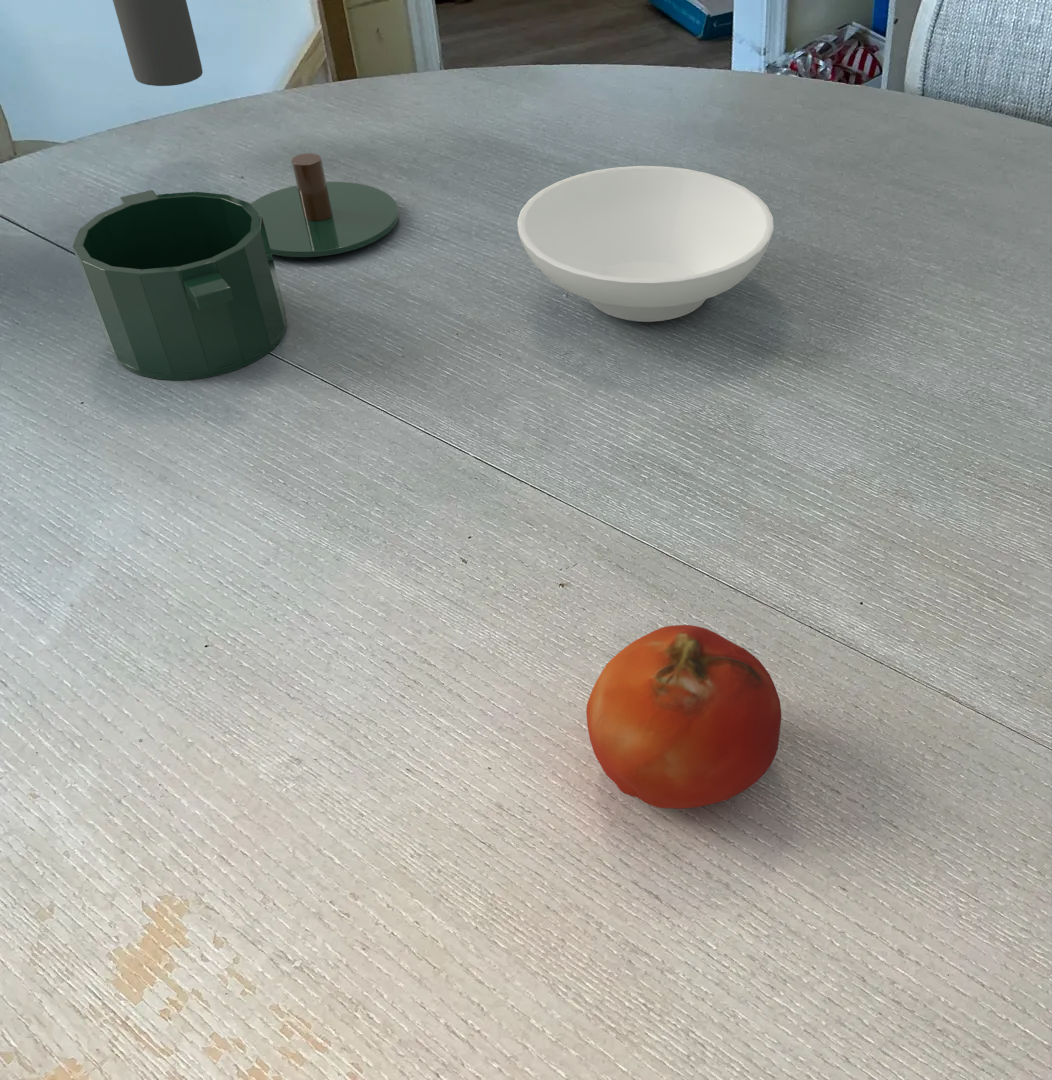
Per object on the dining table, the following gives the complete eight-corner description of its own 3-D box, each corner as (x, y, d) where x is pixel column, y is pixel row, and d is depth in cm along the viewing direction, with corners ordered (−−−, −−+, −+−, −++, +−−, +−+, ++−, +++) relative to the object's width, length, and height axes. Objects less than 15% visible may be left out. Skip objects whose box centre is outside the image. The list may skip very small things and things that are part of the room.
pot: (151, 418, 81) (112, 309, 75) (84, 307, 91) (45, 204, 86) (325, 363, 86) (301, 257, 80) (242, 264, 97) (216, 165, 91)
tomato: (553, 783, 58) (541, 674, 53) (661, 670, 64) (660, 562, 59) (707, 876, 55) (711, 769, 49) (808, 747, 60) (820, 639, 55)
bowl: (482, 337, 89) (472, 255, 85) (580, 226, 103) (576, 151, 99) (728, 385, 85) (731, 301, 81) (795, 262, 99) (801, 185, 95)
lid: (272, 279, 95) (254, 208, 91) (218, 216, 103) (199, 149, 99) (425, 237, 101) (415, 169, 97) (362, 180, 109) (350, 115, 105)
